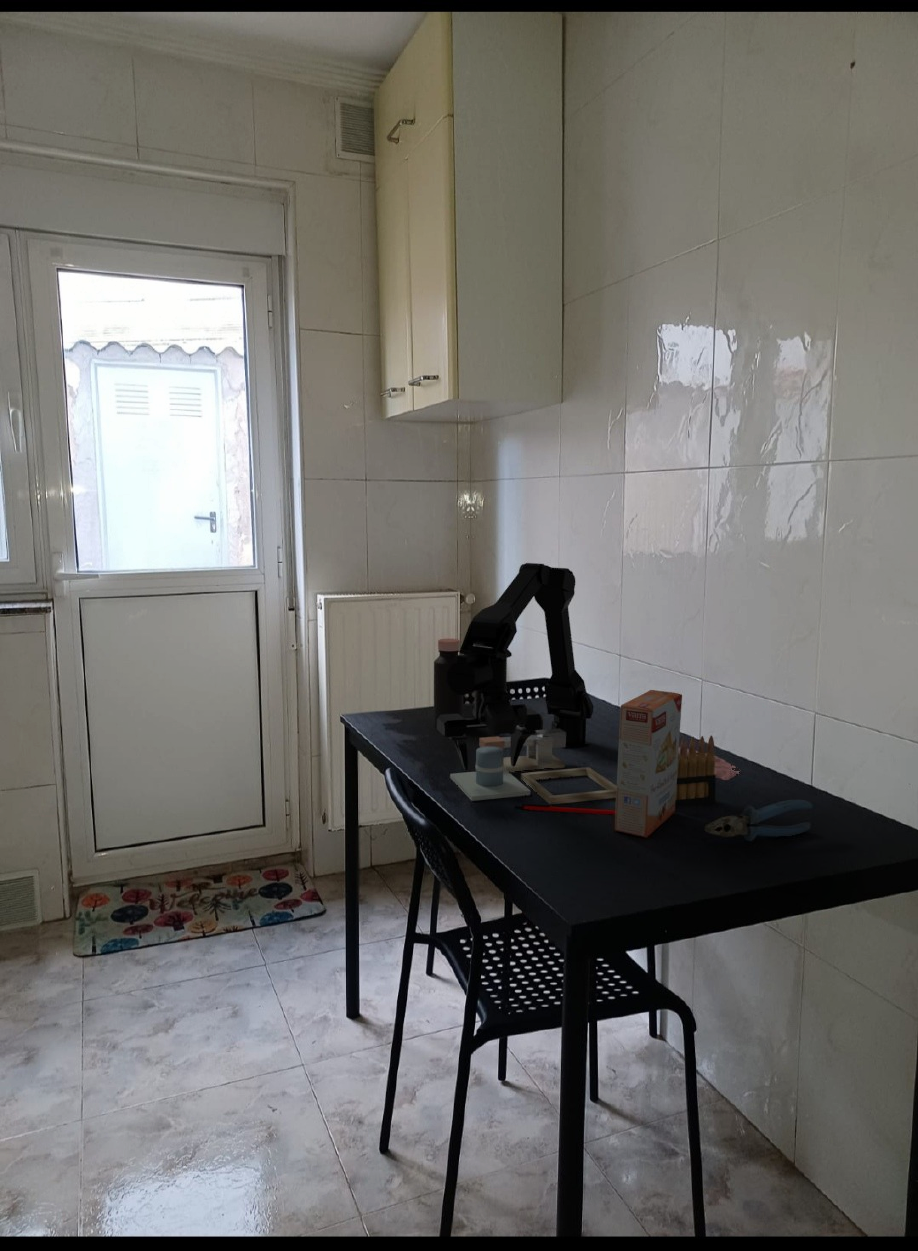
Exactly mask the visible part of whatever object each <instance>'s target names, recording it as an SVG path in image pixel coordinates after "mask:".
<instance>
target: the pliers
mask: <svg viewBox="0 0 918 1251" xmlns="http://www.w3.org/2000/svg"><path fill="white" fill-rule="evenodd" d="M813 806H814V805H813V804H812V802H809V801H808V800H805V799H788V800H782V801H778V802H775V803H772V804H769V805H766V806H762V807H761V808H759V809H755V807H753V806H751V805H747V806H745V808H744V809H743V812H742V814H738V815H733V814H732V815H727V816H722V817H720V818H718V819H716V820H713V821H711V822H710V823H707V824H706V825H704V831H705V832H706V833H708V834H711V835H715V836H719V837H722V838H730V837H736V836H737V835H741V836H743V839H745V841H746V842H747V841H748V842H752V841H754V840H755V838H756V837H757V836H762V837H763V836H764V837H773V838H774V837H775V838H780V837H779V836H787V837H792V835H793V836H797V835H799V834H802V833H804V832H807V831H809V830H810V829H811V822H809V821H808V822H806V821H805V822H801V823H797V824H791V825H785V826H784V825H770V824H769V825H768V824H761V823H759V822H762V821H766V820H767V819H771V818H773V817H775V816H778V815H780V814H783V813H786V812H790V811H791V812H792V811H798V810H799V811H802V810H803V811H808V810H812V809H813ZM796 834H797V835H796Z"/></svg>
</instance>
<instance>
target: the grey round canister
mask: <svg viewBox="0 0 918 1251" xmlns="http://www.w3.org/2000/svg"><path fill="white" fill-rule="evenodd" d="M504 750H505V749H501V748H498V747H478V748H477V749H476V751H475V753H476V754H475V772H476V783H477V784H478V785H481V786H487V787H493V786H499V785H501V784H503V770H504V763H503V760H504V753H505V752H504Z"/></svg>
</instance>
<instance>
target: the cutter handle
mask: <svg viewBox="0 0 918 1251" xmlns="http://www.w3.org/2000/svg"><path fill="white" fill-rule="evenodd" d="M536 731H537V735H531V736H529V737H528V738H527V739H526V741H525V743H524V745H523V747H527V746H531V745H536V738H542V737H552V738H553V746H552V749H557V748H559V749H560V748H567V747H566V732H565V731H563V730H562V729H552V728H549V729H548V728H547V729H542V730H536ZM510 744H511V736H504V737H500V735H496V736H487V737H479V745H478V746H479V748H481V747H498V748H501V749H503V750H505V749H506V748H510Z"/></svg>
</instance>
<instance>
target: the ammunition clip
mask: <svg viewBox="0 0 918 1251" xmlns="http://www.w3.org/2000/svg"><path fill="white" fill-rule="evenodd" d="M679 747H680V755H679V759H678V769H677V785H676V801H675V808H676V807H687V806H697V805H708V804H709V805H710V804H715V803H716V785H717V784H716V780H717V778H716V775H714V770H715V757H714V756H715V741H714V737H713V735H710V736H709V738H708V742H707V748H706V743H705V738H704V736H703V735H702V736H701V737H700V739H699V741H698V746H697V743H696V739H695V737H694V736H692V737H691V738H690V742H689V748H688V744H687V740H686V737H683V738H682V740H681V742H680V746H679ZM687 749H689V754H688V759H687ZM696 751H698V755H697V759H696ZM705 753H706V754H707V755H706V759H705Z"/></svg>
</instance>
